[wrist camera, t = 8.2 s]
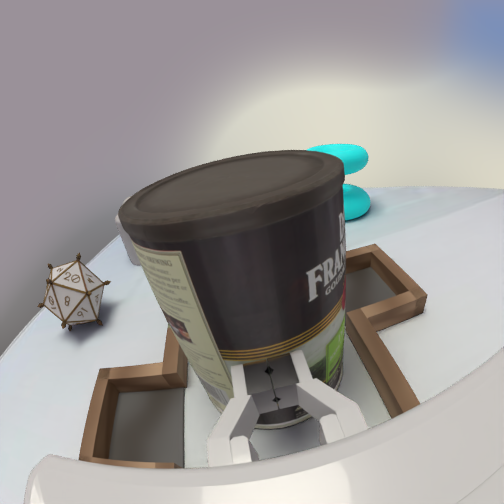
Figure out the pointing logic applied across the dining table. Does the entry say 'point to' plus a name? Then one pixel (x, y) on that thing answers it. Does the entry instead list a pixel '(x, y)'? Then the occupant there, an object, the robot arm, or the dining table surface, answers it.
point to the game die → (74, 294)
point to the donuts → (353, 162)
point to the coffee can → (248, 264)
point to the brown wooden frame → (175, 363)
